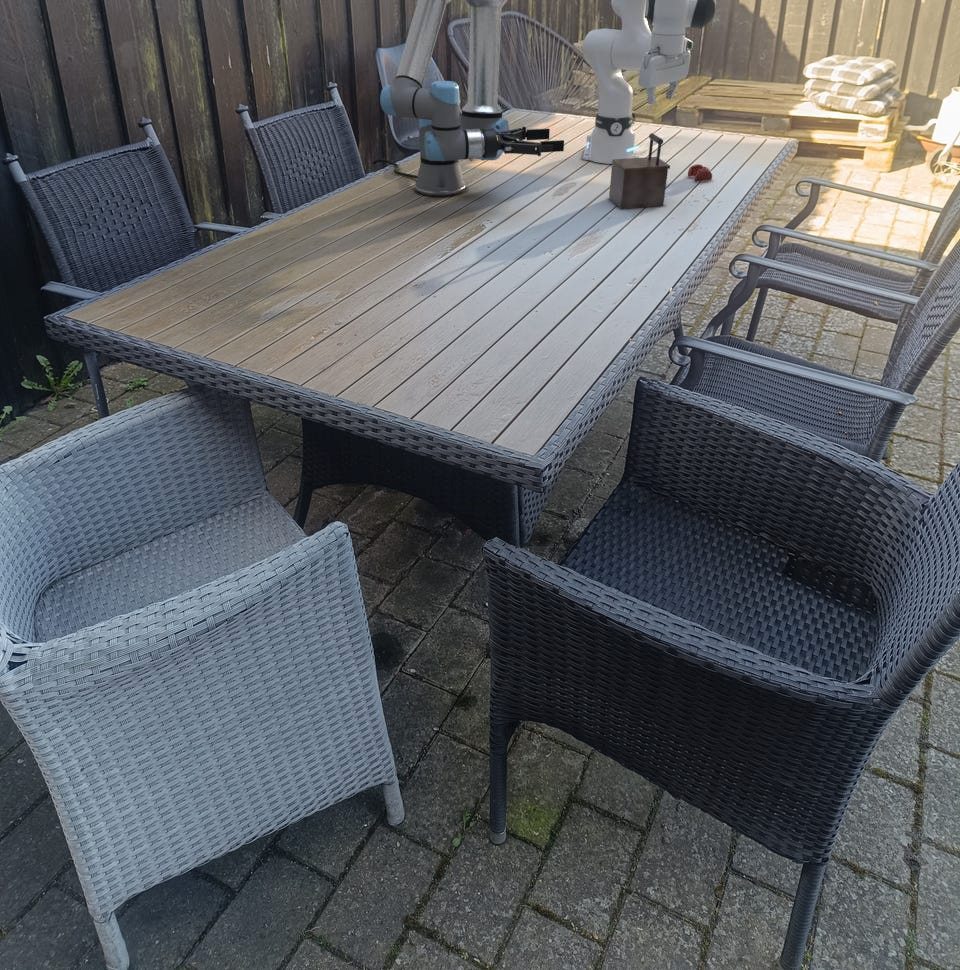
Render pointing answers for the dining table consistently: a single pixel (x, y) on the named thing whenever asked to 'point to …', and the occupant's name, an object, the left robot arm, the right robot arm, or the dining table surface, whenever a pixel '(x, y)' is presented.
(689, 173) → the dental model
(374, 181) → the dining table surface
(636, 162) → the lid
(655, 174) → the chest
